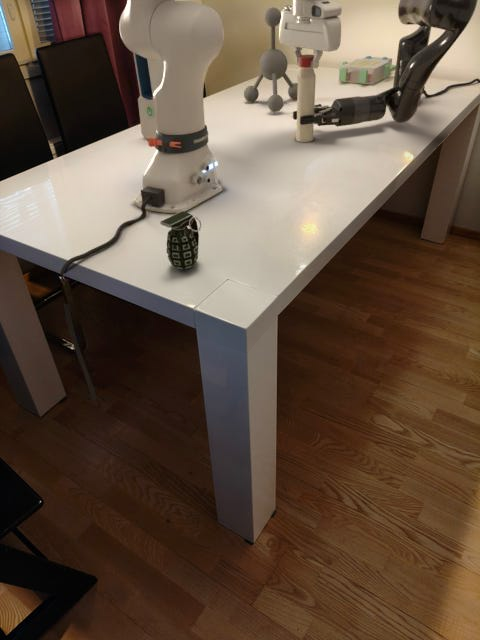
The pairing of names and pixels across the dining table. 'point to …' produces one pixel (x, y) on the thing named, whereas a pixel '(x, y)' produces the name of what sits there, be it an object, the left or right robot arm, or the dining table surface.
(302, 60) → the cap
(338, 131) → the dining table surface
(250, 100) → the molecular model
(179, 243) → the grenade
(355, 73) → the decorative block
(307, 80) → the bottle
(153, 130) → the electronic device
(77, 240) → the dining table surface
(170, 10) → the left robot arm
